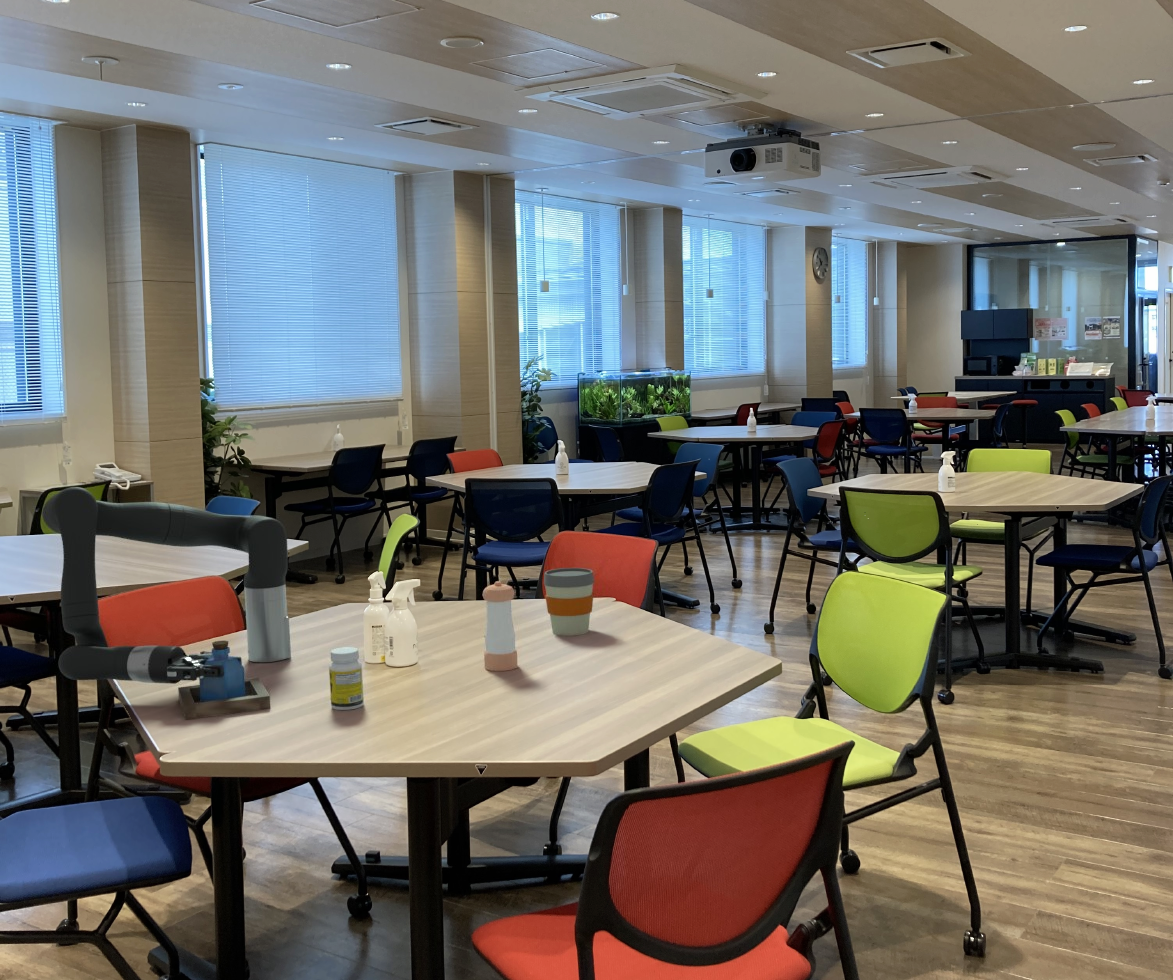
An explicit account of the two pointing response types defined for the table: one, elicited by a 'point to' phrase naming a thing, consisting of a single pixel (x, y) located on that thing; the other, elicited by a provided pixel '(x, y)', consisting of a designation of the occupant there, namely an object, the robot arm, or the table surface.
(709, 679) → the table surface
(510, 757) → the table surface
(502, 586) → the pepper shaker
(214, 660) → the perfume bottle
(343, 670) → the supplement bottle
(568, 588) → the reusable coffee cup
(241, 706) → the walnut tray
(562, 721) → the table surface
